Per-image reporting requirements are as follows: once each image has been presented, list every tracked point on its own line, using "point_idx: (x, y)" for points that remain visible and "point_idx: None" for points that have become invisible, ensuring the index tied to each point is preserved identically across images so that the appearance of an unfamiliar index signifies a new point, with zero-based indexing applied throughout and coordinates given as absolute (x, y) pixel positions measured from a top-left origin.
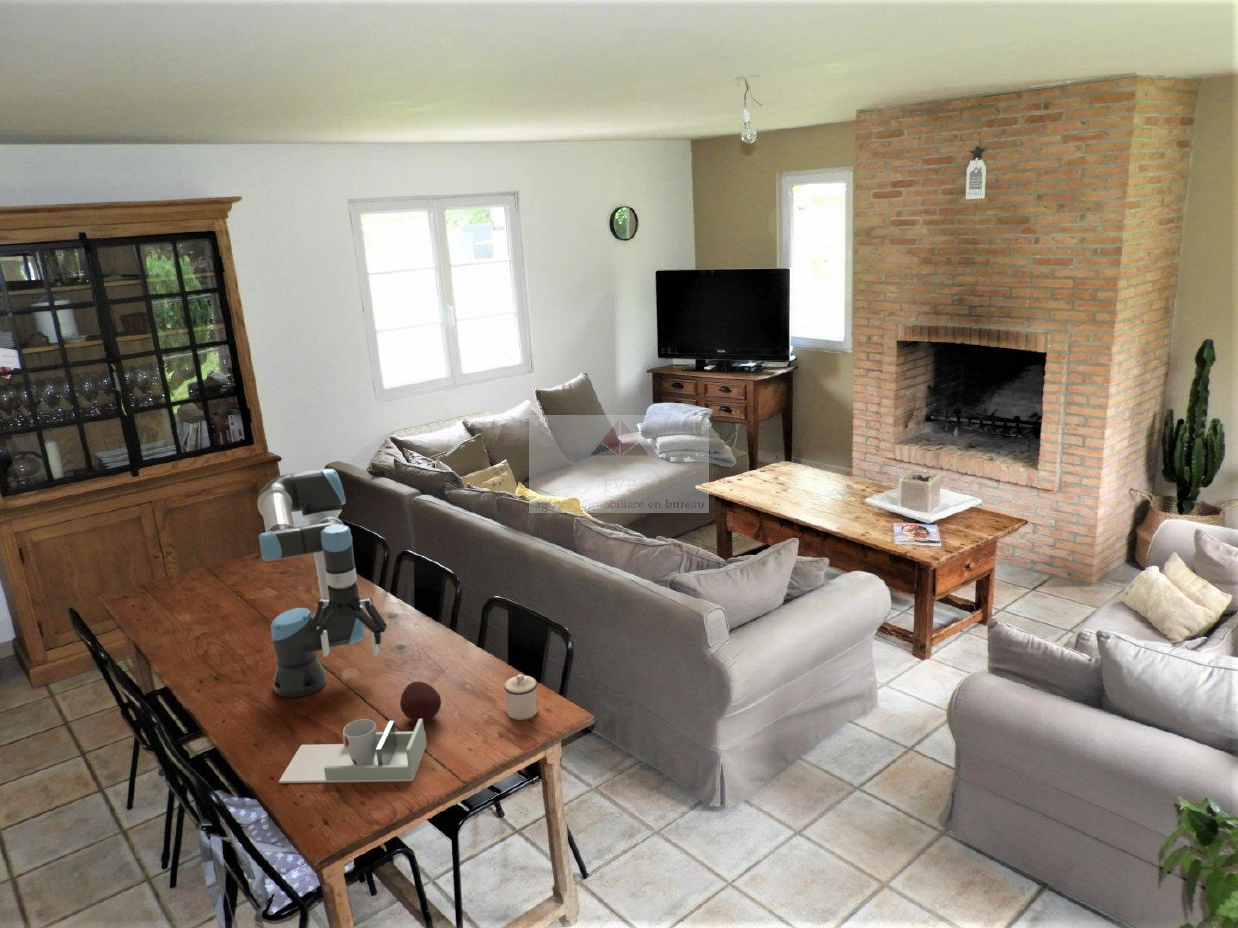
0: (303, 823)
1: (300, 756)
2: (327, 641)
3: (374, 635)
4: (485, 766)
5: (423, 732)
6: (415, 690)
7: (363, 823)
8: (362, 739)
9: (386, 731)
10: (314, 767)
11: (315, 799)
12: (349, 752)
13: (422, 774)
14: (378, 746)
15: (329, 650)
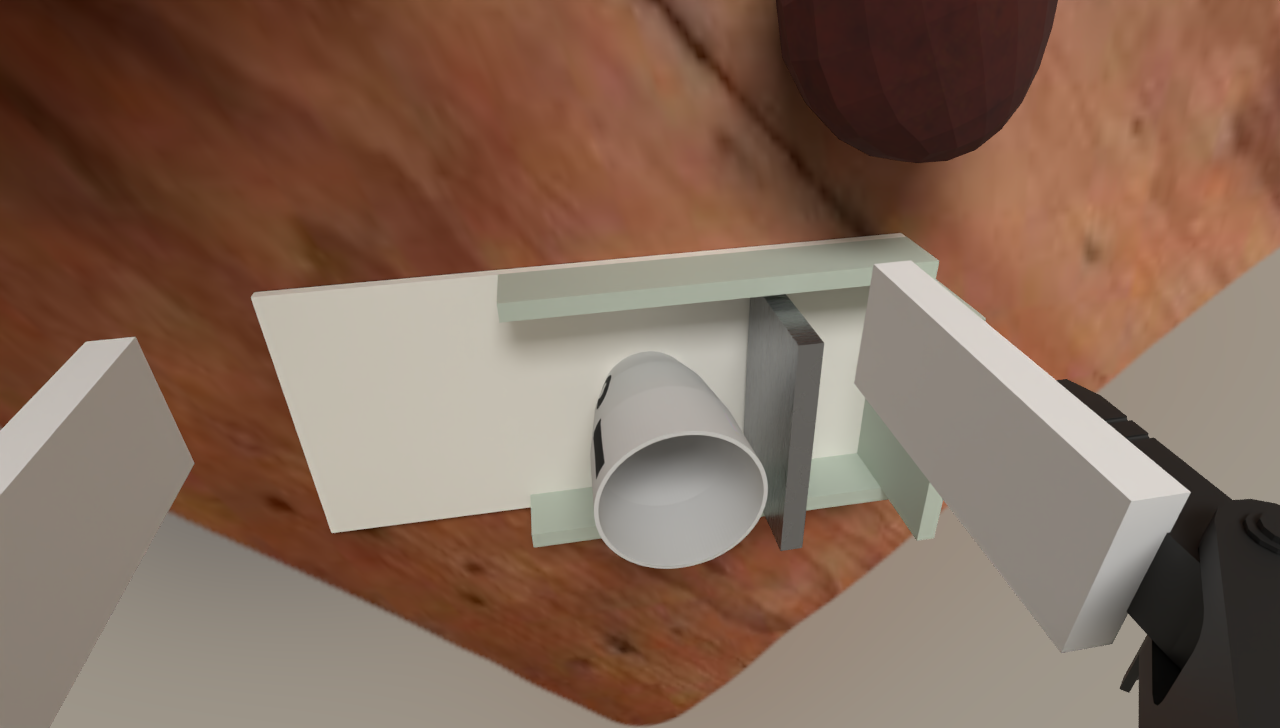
0: (552, 660)
1: (316, 384)
2: (40, 505)
3: (1133, 683)
4: (1132, 355)
5: None
6: (954, 39)
7: (742, 633)
8: (712, 541)
9: (801, 433)
10: (437, 446)
11: (536, 575)
12: (617, 481)
13: None
14: (787, 535)
15: (125, 348)
